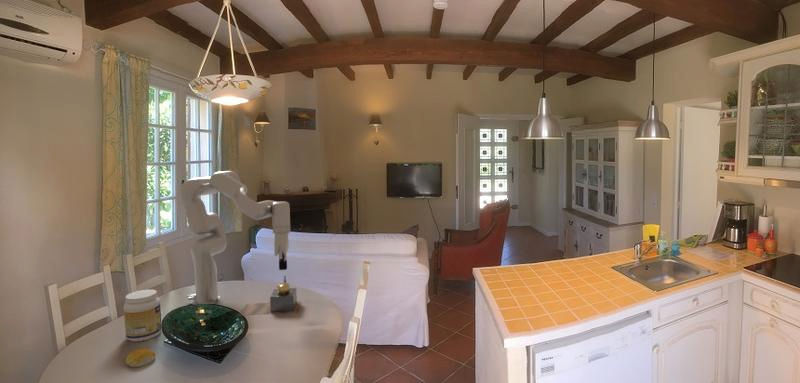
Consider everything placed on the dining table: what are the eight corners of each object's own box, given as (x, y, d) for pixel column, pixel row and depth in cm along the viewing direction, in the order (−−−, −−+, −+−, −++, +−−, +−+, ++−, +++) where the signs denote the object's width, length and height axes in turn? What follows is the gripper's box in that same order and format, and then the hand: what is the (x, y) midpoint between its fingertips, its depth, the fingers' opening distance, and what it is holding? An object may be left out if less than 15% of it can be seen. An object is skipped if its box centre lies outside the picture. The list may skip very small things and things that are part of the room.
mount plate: (239, 318, 171) (238, 315, 171) (246, 306, 184) (246, 303, 184) (298, 315, 174) (298, 312, 174) (301, 304, 187) (301, 301, 187)
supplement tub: (164, 336, 155) (161, 294, 153) (126, 346, 147) (123, 302, 145) (160, 325, 164) (157, 286, 162) (124, 333, 157) (121, 292, 155)
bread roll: (146, 352, 143) (145, 342, 142) (159, 359, 138) (158, 348, 138) (120, 363, 136) (119, 352, 135) (133, 370, 131) (132, 359, 131)
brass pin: (277, 307, 176) (276, 287, 175) (279, 303, 182) (278, 283, 181) (288, 307, 177) (288, 286, 176) (290, 302, 182) (290, 282, 181)
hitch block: (270, 312, 174) (270, 297, 173) (274, 303, 184) (274, 289, 183) (293, 311, 175) (293, 296, 174) (296, 302, 185) (296, 288, 184)
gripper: (275, 226, 183) (277, 264, 184) (269, 233, 168) (271, 274, 170) (292, 225, 183) (293, 264, 185) (287, 232, 169) (289, 274, 171)
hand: (283, 269), depth 178 cm, fingers closed
